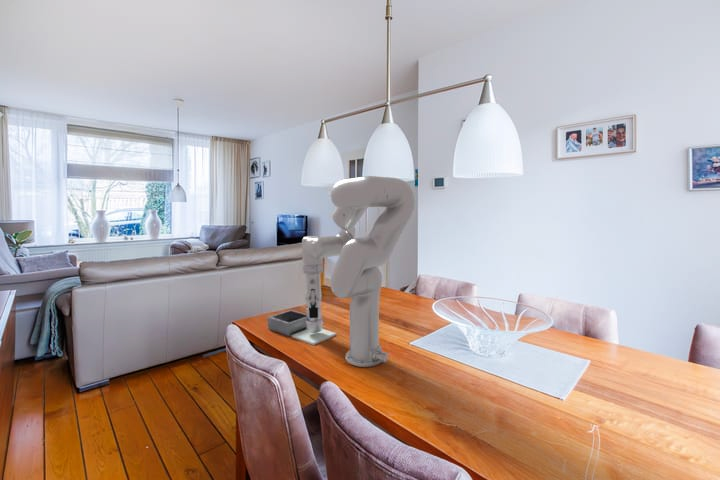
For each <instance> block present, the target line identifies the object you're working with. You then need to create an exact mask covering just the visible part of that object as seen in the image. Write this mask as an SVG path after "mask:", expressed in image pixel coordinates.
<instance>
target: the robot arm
mask: <svg viewBox="0 0 720 480" xmlns="http://www.w3.org/2000/svg"><path fill="white" fill-rule="evenodd" d="M330 198H331V202H332V204H333V206H335V207H336V208H335V209H334V210H333V212H332V220H333V222H334V224H335V225H336V226H337V227H339V228H340V230H339V231H338V233H337V234H336V235H328V236H318V235H307V236H303V238H302V239H301V251H302V253H301V254H302V274H304V275H305V281H306V285H305V286H306V290H307V297H308V300H309V299H310V307H309V318H318V307H317V299H319V300H320V299H321V300H322V297H321V294H322V285H321V284H322V283H321V282H322V281H321V279H322V278H321V274H322V273H323V272H324V265H323V263H324V262H323V259H324V258H325V259H326V258H332V257H337V256H338V258H337V260H336V263H335V265H334V268H333V270H332V273H331V276H330V282H329V283H330V289H331V291H332V293H333V295H334V296H335V297H337V298H338V299H349V298H350V303H349V350H348V351H347V352H346V353H345V360H346V362H347V363H348V364H350V365H352V366H354V367H355V366H356V367H359V368H362V367H363V368H366V367H368V368H370V367H374V366H377V365H379V364H381V363H382V362H384V363H386V362H387V361H388V357H389V353H388V352H385V351H383V350H382V345H380V327H379V325H380V318H379V317H380V295H381V289H382V285H383V284H382V283H383V276H382V272H381V269H380V268H379V267H382V266H384V265H385V264H387V263H388V261H389V260H390V257H391V255H392V253H393V252H394V250H395V247H396V246H397V244H398V241H399V239H400V237H401V235H402V234H403V231H404V230H405V228H406V226H407V224H408V223H409V221H410V220H411V217H412V215H413V213H414V207H415V195H414V192H413V189H412V187H411V186H410V184H408V183H407V182H406V181H405V180H403V179H400V178H396V177H388V176H386V177H385V176H376V175H375V176H374V175H373V176H372V175H367V176H358V177H353V178H352V177H351V178H347V179H346V178H345V179H341V180H338V181H337V182H336V183H335V184H334V185H333V187H332V189H331V192H330ZM368 208H385V209H384V211H383V212H382V213H381V214H380V215H379V216H378V217H377V219H376V220H375V222H374V224H373V226H372V228H371V231H369V233H368V235H366V236H360V237H356V227H355V226H356V225H357V223H358V222H359V220H360V219H361V218H362V217H363V215H364V214H365V212H366V211H367V210H368ZM309 297H310V298H309ZM315 297H316V299H315ZM315 301H316V302H315Z"/></svg>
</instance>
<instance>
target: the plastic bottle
mask: <svg viewBox="0 0 720 480" xmlns="http://www.w3.org/2000/svg"><path fill="white" fill-rule="evenodd" d="M322 295H323V294H322V293H321V299H320V300H319V299H317V307H318V318H309V307H310V299H309V300H308V297H307V289H306V290H305V292H304V295H303V296H304V297H303V298H304V300H305V301H304V302H305V308H306V314H307V319H306V329H307V331H308V332H310V333H317V332H320V331H321V330H322V329H324V322H323V318H322V317H323V316H322V311H321V310H322V298H323V297H322ZM309 298H310V297H309ZM315 299H316V297H315ZM315 302H316V301H315Z"/></svg>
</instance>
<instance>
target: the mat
mask: <svg viewBox="0 0 720 480" xmlns="http://www.w3.org/2000/svg"><path fill="white" fill-rule="evenodd" d="M335 336H337V332H334V331H331V330H328V329H325V328H323V329H322V330H321V331H320V332H317V333H310V332H308V331H307V330H304V331H302V332H299V333H296V334H294V335H292V336H291V339H292V338H293V339H296V340H299V341H301V342H304V343H307V344H309V345H312V346H315V345H317V344H319V343H322V342H324V341H326V340H328V339H331V338H332V337H335Z"/></svg>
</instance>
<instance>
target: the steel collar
mask: <svg viewBox="0 0 720 480" xmlns="http://www.w3.org/2000/svg"><path fill="white" fill-rule="evenodd" d="M306 319H307V313H304V312H300V311H296V310H294V309H290V310H286V311H283V312H282V311H281V312H279V313H277V314H273V315H270V316H267V330H270V331H273V332H276V333H278V334H281V335H284V336H286V337H289V338H290V337H292V335H294V334H296V333H299V332H302V331H304V330H307V329H306Z"/></svg>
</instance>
